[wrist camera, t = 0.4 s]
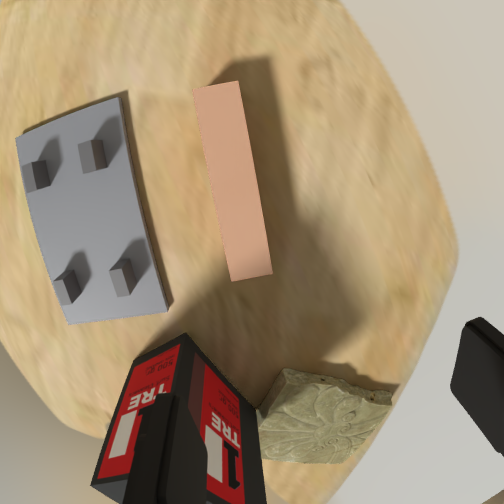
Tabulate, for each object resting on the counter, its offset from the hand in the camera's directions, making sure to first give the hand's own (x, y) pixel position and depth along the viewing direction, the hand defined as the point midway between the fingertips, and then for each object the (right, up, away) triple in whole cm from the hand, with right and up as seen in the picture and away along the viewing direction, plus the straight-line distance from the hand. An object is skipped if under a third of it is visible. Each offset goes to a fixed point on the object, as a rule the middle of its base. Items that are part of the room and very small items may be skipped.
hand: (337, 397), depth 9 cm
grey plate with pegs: (-21, +8, +23) cm, 32 cm away
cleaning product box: (-10, -14, +32) cm, 36 cm away
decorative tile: (+7, -21, +36) cm, 42 cm away
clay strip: (-4, +12, +23) cm, 27 cm away
